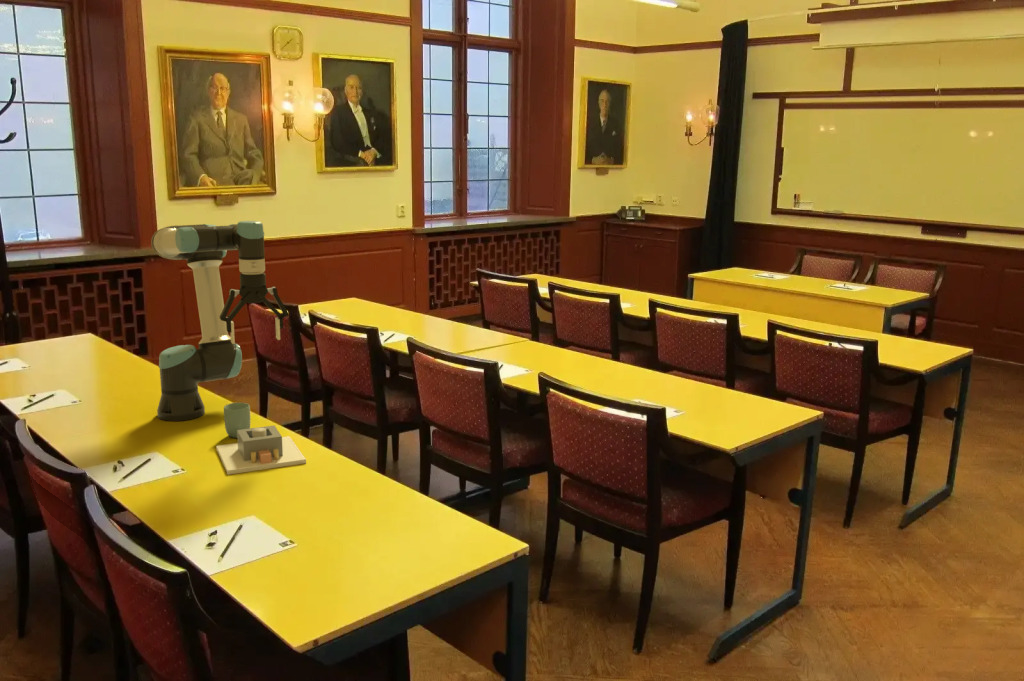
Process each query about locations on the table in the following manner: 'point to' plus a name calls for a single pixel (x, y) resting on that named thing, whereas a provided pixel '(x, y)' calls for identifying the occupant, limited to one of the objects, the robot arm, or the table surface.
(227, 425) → the cup
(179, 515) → the table surface
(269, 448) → the grey hollow box
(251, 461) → the post block
